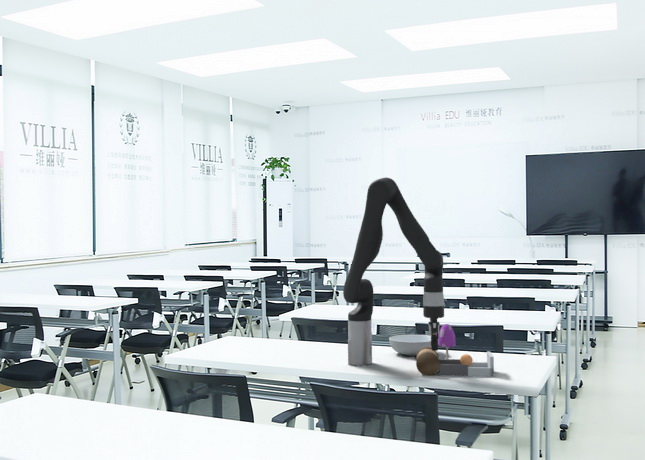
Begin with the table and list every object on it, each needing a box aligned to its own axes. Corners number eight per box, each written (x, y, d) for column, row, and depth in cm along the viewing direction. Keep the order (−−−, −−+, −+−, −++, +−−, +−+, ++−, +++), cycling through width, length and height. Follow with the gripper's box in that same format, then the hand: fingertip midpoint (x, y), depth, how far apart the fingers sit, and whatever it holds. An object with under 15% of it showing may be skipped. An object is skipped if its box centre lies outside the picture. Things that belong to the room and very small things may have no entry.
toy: (455, 363, 248) (455, 325, 248) (438, 363, 249) (437, 325, 249) (455, 360, 255) (455, 322, 255) (438, 360, 256) (438, 322, 256)
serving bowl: (446, 352, 273) (446, 335, 273) (427, 360, 255) (426, 343, 255) (402, 348, 284) (402, 332, 284) (380, 356, 266) (380, 339, 266)
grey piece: (439, 375, 228) (439, 356, 228) (438, 369, 238) (438, 351, 238) (493, 376, 226) (493, 356, 226) (490, 370, 235) (490, 351, 235)
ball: (475, 365, 229) (470, 354, 229) (463, 369, 230) (458, 358, 230) (473, 362, 233) (469, 351, 234) (462, 366, 234) (457, 355, 234)
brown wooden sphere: (440, 375, 228) (439, 352, 228) (416, 375, 229) (415, 352, 229) (438, 369, 238) (438, 347, 238) (416, 369, 239) (415, 347, 239)
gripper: (444, 306, 226) (445, 352, 226) (443, 302, 240) (443, 345, 240) (423, 306, 227) (424, 352, 227) (422, 302, 241) (423, 344, 241)
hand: (434, 348), depth 233 cm, fingers open, 8 cm apart
